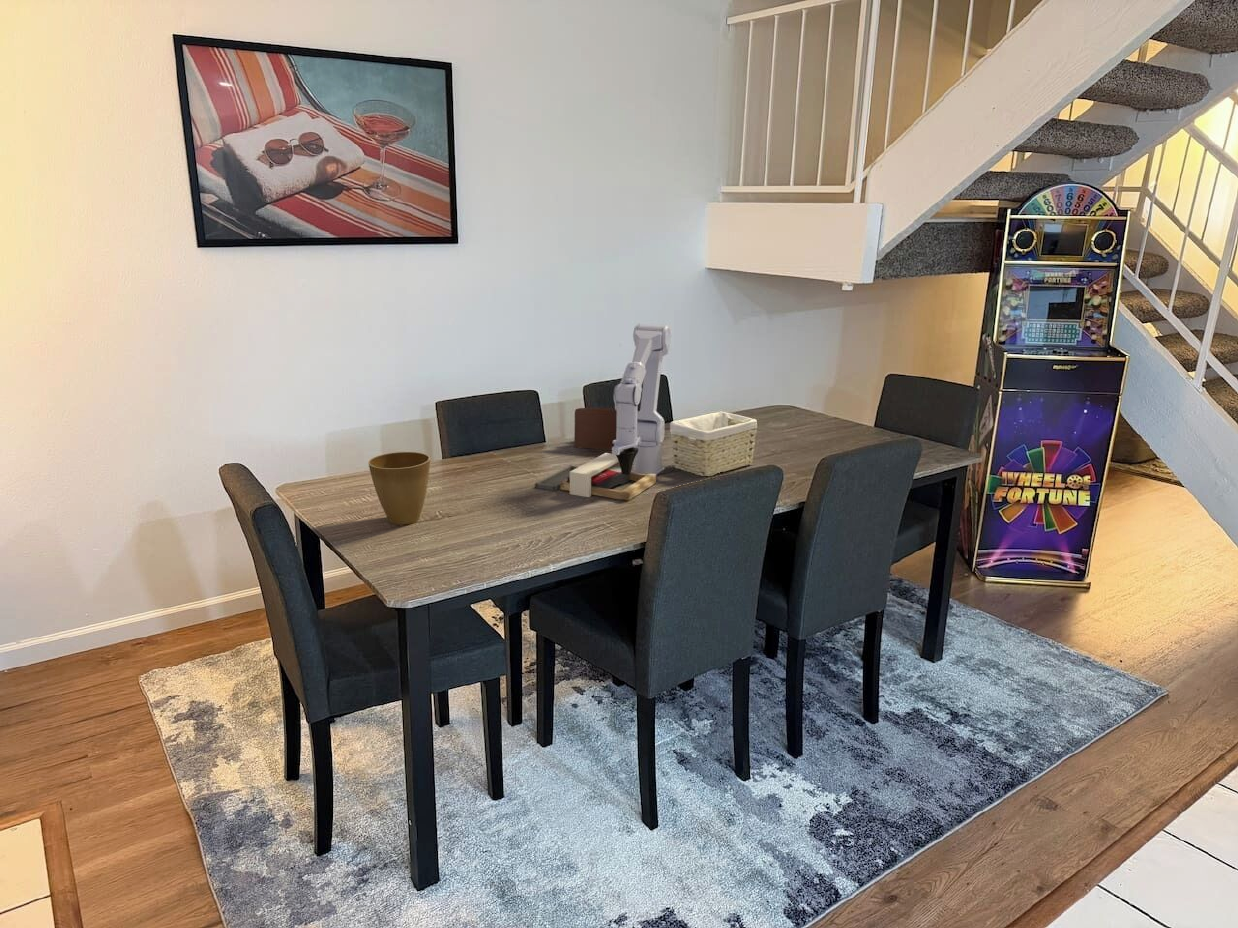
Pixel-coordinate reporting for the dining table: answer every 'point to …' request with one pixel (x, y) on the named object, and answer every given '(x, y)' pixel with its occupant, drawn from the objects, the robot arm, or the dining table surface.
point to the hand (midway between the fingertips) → (626, 473)
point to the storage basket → (713, 443)
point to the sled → (626, 494)
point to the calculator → (608, 478)
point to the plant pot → (401, 484)
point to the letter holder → (595, 428)
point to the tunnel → (579, 475)
